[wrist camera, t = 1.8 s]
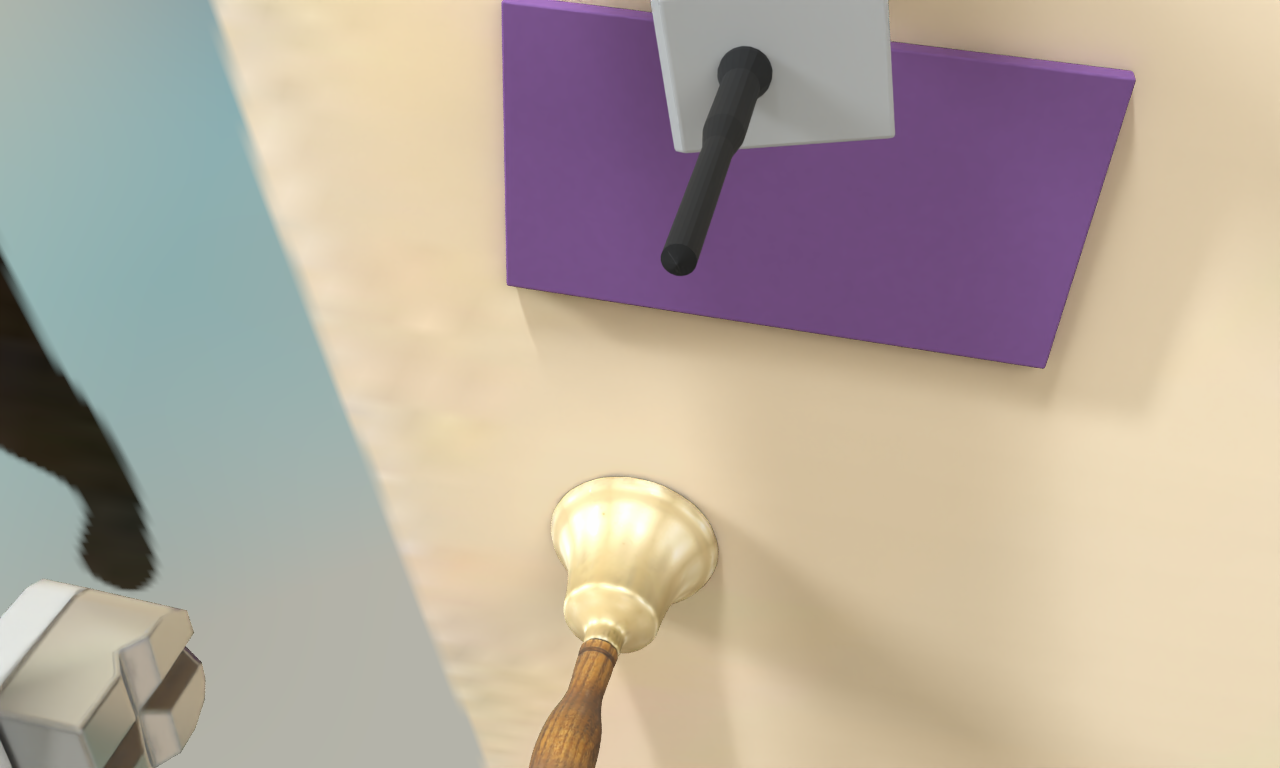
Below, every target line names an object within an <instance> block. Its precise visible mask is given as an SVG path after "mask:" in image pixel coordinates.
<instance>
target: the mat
mask: <svg viewBox="0 0 1280 768" xmlns="http://www.w3.org/2000/svg"><path fill="white" fill-rule="evenodd" d="M890 45H891V64H892V83H893V103H894V122H895V136H894V137H893V138H887V139H873V140H860V141H846V142H832V143H819V144H805V145H791V146H777V147H764V148H750V149H738V151H737V152H736V153H735V154H734V156H733V157H732V159H731V162H730V165H729V168H728V171H727V174H726V177H725V180H724V183H723V186H722V190H721V193H720V196H719V199H718V202H717V205H716V208H715V211H714V214H713V217H712V220H711V223H710V226H709V229H708V232H707V235H706V238H705V241H704V244H703V247H702V250H701V253H700V256H699V259H698V262H697V265H696V268H695V269H694V271H693V272H692V273H690V274H688V275H685V276H675V275H673V274H670V273H669V272H667V271H666V270H665V269H664V267H663V266H662V263H661V253H662V251H663V248H664V246H665V243H666V240H667V238H668V235H669V232H670V230H671V227H672V225H673V222H674V219H675V217H676V214H677V212H678V209H679V206H680V204H681V201H682V198H683V196H684V193H685V191H686V188H687V185H688V183H689V180H690V177H691V175H692V172H693V170H694V167H695V164H696V162H697V159H698V157H699V154H700V152H695V153H682V152H677V151H676V150H675V149H674V142H673V136H672V130H671V124H670V118H669V112H668V106H667V99H666V93H665V87H664V81H663V75H662V69H661V63H660V57H659V50H658V44H657V38H656V32H655V26H654V20H653V14H652V12H645V11H636V10H628V9H620V8H612V7H604V6H595V5H587V4H579V3H571V2H563V1H554V0H503V1H502V55H503V109H504V162H505V216H506V269H507V285H508V286H514V287H521V288H527V289H533V290H540V291H546V292H553V293H559V294H566V295H572V296H579V297H585V298H591V299H598V300H604V301H611V302H617V303H624V304H630V305H637V306H643V307H649V308H656V309H662V310H669V311H675V312H682V313H688V314H695V315H701V316H707V317H714V318H720V319H727V320H733V321H740V322H746V323H752V324H759V325H765V326H772V327H778V328H785V329H791V330H798V331H804V332H810V333H817V334H823V335H830V336H836V337H843V338H849V339H856V340H862V341H868V342H875V343H881V344H888V345H894V346H901V347H907V348H913V349H920V350H926V351H933V352H939V353H946V354H952V355H959V356H965V357H971V358H978V359H984V360H991V361H997V362H1004V363H1010V364H1017V365H1023V366H1029V367H1036V368H1042V369H1043V368H1045V366H1046V363H1047V360H1048V357H1049V353H1050V350H1051V347H1052V344H1053V341H1054V338H1055V334H1056V331H1057V328H1058V325H1059V322H1060V319H1061V315H1062V312H1063V309H1064V306H1065V303H1066V300H1067V296H1068V293H1069V290H1070V287H1071V284H1072V281H1073V277H1074V274H1075V271H1076V268H1077V265H1078V262H1079V258H1080V255H1081V252H1082V249H1083V246H1084V243H1085V239H1086V236H1087V233H1088V230H1089V227H1090V224H1091V220H1092V217H1093V214H1094V211H1095V208H1096V205H1097V202H1098V198H1099V195H1100V192H1101V189H1102V186H1103V183H1104V179H1105V176H1106V173H1107V170H1108V167H1109V164H1110V160H1111V157H1112V154H1113V151H1114V148H1115V145H1116V141H1117V138H1118V135H1119V132H1120V129H1121V126H1122V122H1123V119H1124V116H1125V113H1126V110H1127V107H1128V103H1129V100H1130V97H1131V94H1132V91H1133V88H1134V84H1135V81H1136V80H1135V76H1134V73H1133V72H1132V71H1128V70H1120V69H1112V68H1103V67H1095V66H1087V65H1079V64H1071V63H1063V62H1054V61H1046V60H1038V59H1030V58H1022V57H1013V56H1005V55H997V54H989V53H981V52H972V51H964V50H956V49H948V48H940V47H931V46H923V45H915V44H907V43H899V42H890Z"/></svg>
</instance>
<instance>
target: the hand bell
mask: <svg viewBox="0 0 1280 768" xmlns="http://www.w3.org/2000/svg"><path fill="white" fill-rule="evenodd" d="M551 536H552V541H553V545H554V548H555V551H556V553H557V556H558V558H559V559H560V561H561V563H562V564H563V566H564V567H565V568H566V570H567V571H568V584H567V592H566V597H565V602H564V617H565V620H566V623H567V625H568V626H569V628H570V630H571V631H572V632H573V633H574V634H575V636H576V637H578V638H579V639H580V640H581V641H583V644H582V645H581V648H580V651H579V655H578V658H577V661H576V665H575V668H574V672H573V675H572V679H571V682H570V685H569V688H568V691H567V692H566V694H565V696H564V697H563V699H562V700H561V701H560V703H559V704H558V705H557V706H556V707H555V709H554V710H553V711H552V713H551V714H550V716H549V717H548V719H547V721H546V722H545V724H544V726H543V728H542V730H541V732H540V734H539V737H538V739H537V742H536V744H535V747H534V750H533V753H532V757H531V761H530V765H529V768H595V765H596V762H597V758H598V753H599V748H600V742H601V733H602V724H601V704H602V699H603V696H604V693H605V690H606V687H607V685H608V682H609V679H610V677H611V674H612V671H613V668H614V666H615V664H616V661H617V659H618V656H619V654H620V653H630V652H634V651H637V650H640V649H642V648H644V647H646V646H647V645H648V644H649V643H651V642H652V640H653V639H654V638H655V636H656V635H657V632H658V630H659V627H660V625H661V623H662V620H663V618H664V616H665V614H666V612H667V611H668V609H669V607H670V606H671V605H672V604H674V603H677V602H680V601H682V600H684V599H686V598H688V597H690V596H692V595H693V594H694V593H696V592H697V591H698V590H699V589H700V588H702V587H703V586H704V585H705V584H706V583H707V581H708V580H709V579H710V577H711V576H712V574H713V572H714V570H715V568H716V564H717V560H718V546H717V541H716V538H715V535H714V533H713V530H712V527H711V526H710V524H709V522H708V521H707V519H706V518H705V516H704V515H703V514H702V513H701V512H700V511H699V510H698V509H697V507H696V506H695V505H693V504H692V503H691V502H690V501H688V500H687V499H685V498H684V497H682V496H681V495H679V494H678V493H676V492H674V491H672V490H670V489H668V488H667V487H665V486H662V485H660V484H657V483H653V482H651V481H647V480H643V479H637V478H631V477H606V478H599V479H595V480H592V481H588V482H585V483H583V484H581V485H579V486H577V487H576V488H574V489H572V490H571V491H569V492H568V493H567V494H566V495H565V496H564V497H563V498H562V499H561V501H560V502H559V503H558V505H557V506H556V508H555V510H554V513H553V516H552V520H551Z"/></svg>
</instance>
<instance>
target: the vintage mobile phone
mask: <svg viewBox="0 0 1280 768" xmlns="http://www.w3.org/2000/svg"><path fill="white" fill-rule="evenodd" d="M650 1H651V8H652V14H653V20H654V26H655V32H656V38H657V44H658V50H659V57H660V63H661V69H662V75H663V81H664V87H665V93H666V99H667V106H668V112H669V118H670V124H671V130H672V136H673V142H674V149H675V150H676V151H677V152H682V153H695V152H700V154H699V157H698V159H697V162H696V164H695V167H694V170H693V172H692V175H691V177H690V180H689V183H688V185H687V188H686V191H685V193H684V196H683V198H682V201H681V204H680V206H679V209H678V212H677V214H676V217H675V219H674V222H673V225H672V227H671V230H670V232H669V235H668V238H667V240H666V243H665V246H664V248H663V251H662V253H661V263H662V266H663V267H664V269H665V270H666V271H667V272H669V273H670V274H673V275H675V276H685V275H688V274H690V273H692V272H693V271H694V269H695V268H696V265H697V262H698V259H699V256H700V253H701V250H702V247H703V244H704V241H705V238H706V235H707V232H708V229H709V226H710V223H711V220H712V217H713V214H714V211H715V208H716V205H717V202H718V199H719V196H720V193H721V190H722V186H723V183H724V180H725V177H726V174H727V171H728V168H729V165H730V162H731V159H732V157H733V156H734V154H735V153H736V152H737V151H738V149H750V148H764V147H777V146H791V145H805V144H819V143H832V142H846V141H860V140H873V139H887V138H893V137H894V136H895V122H894V103H893V83H892V64H891V45H890V25H889V6H888V0H650Z"/></svg>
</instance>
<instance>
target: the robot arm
mask: <svg viewBox="0 0 1280 768" xmlns="http://www.w3.org/2000/svg"><path fill="white" fill-rule="evenodd" d="M193 633H194V631H193V628H192V625H191V622H190V619H189V616H188V612H187V610H183V609H178V608H174V607H170V606H165V605H161V604H156V603H152V602H147V601H143V600H138V599H134V598H130V597H125V596H121V595H116V594H111V593H107V592H103V591H99V590H94V589H91V588H86V587H81V586H76V585H71V584H67V583H62V582H57V581H52V580H47V579H42V580H40V581H38V582H36V583H35V584H33V585H31V586H29V587H27V588H26V589H25V590H24V591H23V592H22V593H21V594H20V596H19V597H18V598H17V599H16V600H15V601H14V602H13V604H12V605H11V606H10V607H9V608H8V609H7V610H6V611H5V613H4V614H3V615H2V616H1V617H0V768H156V767H158V766H159V765H161V764H163V763H164V762H166V761H168V760H169V759H171V758H172V757H174V756H176V755H178V754H179V753H181V751H182V750H183V748H184V747H185V745H186V743H187V741H188V740H189V738H190V736H191V735H192V733H193V731H194V730H195V728H196V725H197V722H198V719H199V715H200V712H201V709H202V706H203V703H204V699H205V675H204V671H203V666H202V662H201V661H200V660H199V659H198V658H197V657H196V656H195V655H194V654H193V653H191V651H190V650H189V649H188V648H187V647H186V644H187V643H188V641H189V639H190V638H191V636H192V635H193Z"/></svg>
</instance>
